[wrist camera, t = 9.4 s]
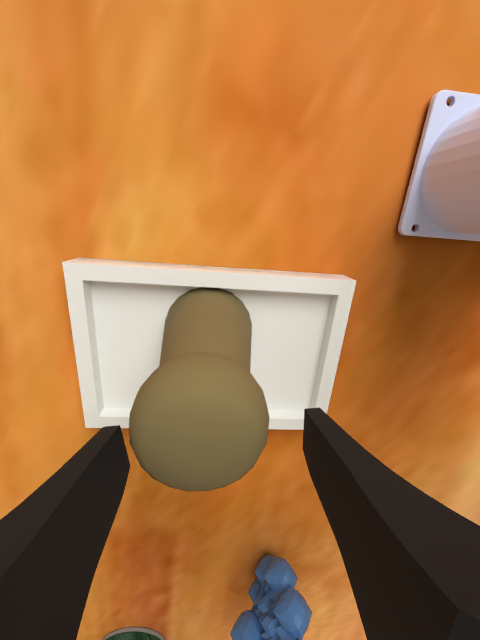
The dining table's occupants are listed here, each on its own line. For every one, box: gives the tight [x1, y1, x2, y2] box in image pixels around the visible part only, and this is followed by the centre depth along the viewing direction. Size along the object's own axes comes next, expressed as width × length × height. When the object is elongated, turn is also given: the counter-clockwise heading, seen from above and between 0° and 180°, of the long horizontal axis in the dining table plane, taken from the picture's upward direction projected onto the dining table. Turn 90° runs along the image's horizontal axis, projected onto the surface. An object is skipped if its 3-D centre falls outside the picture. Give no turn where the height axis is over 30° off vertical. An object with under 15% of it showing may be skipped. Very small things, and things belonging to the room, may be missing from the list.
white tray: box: [62, 258, 356, 430], centre depth 20 cm, size 18×12×2 cm, turn 86°
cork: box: [129, 287, 270, 491], centre depth 14 cm, size 6×6×11 cm
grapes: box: [230, 555, 312, 640], centre depth 24 cm, size 12×7×12 cm, turn 167°
